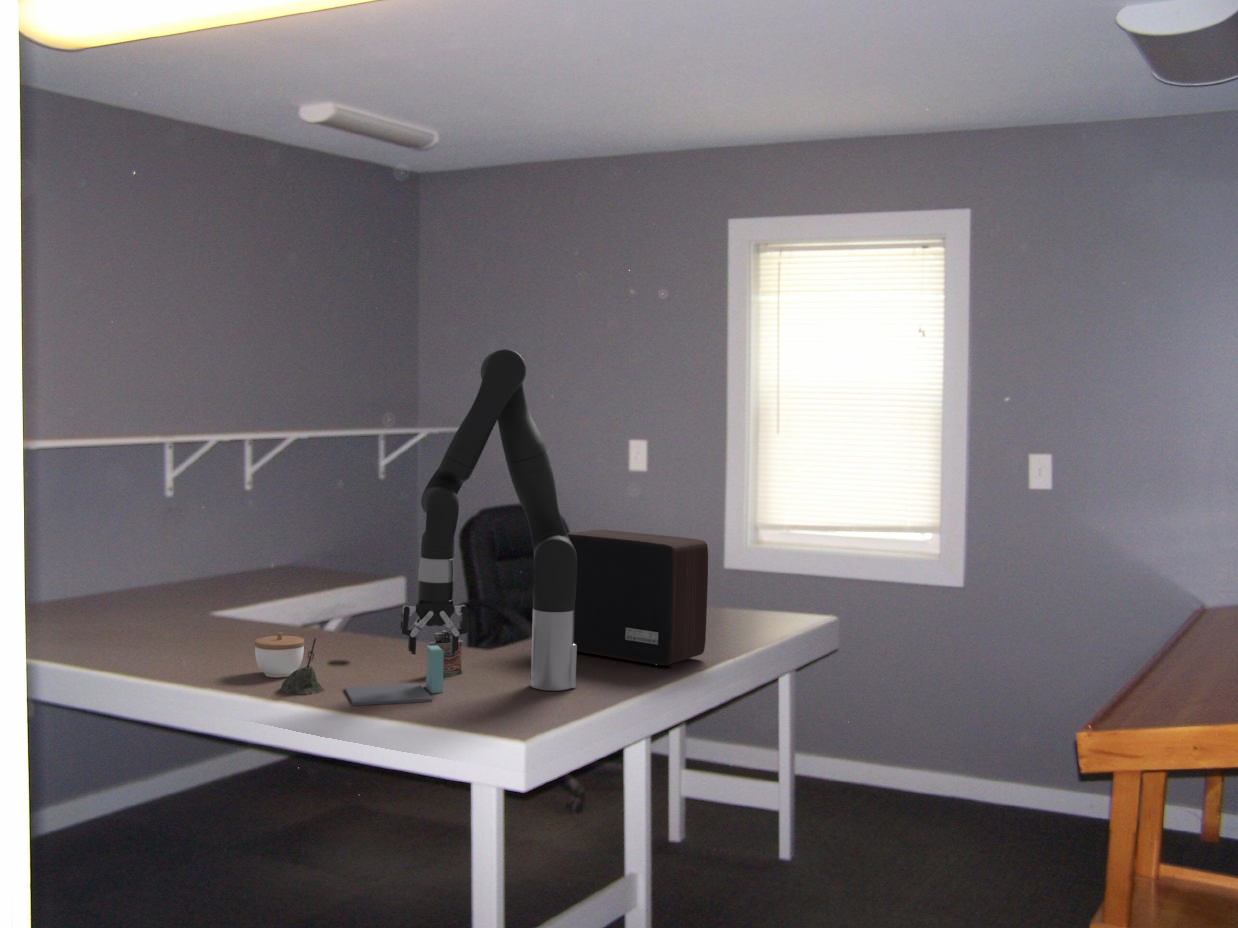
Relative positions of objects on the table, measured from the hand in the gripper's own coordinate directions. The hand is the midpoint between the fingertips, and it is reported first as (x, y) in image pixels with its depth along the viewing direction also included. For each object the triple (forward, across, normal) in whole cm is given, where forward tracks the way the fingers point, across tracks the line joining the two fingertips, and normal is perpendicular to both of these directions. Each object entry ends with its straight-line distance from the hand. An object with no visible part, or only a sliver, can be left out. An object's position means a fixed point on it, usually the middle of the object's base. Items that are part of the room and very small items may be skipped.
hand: (432, 653), depth 263 cm
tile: (+8, +1, 0) cm, 8 cm away
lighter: (+8, +6, +14) cm, 17 cm away
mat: (+8, -10, -4) cm, 13 cm away
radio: (+7, +55, +26) cm, 61 cm away
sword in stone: (+9, -27, +5) cm, 29 cm away
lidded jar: (+9, -30, +21) cm, 38 cm away
